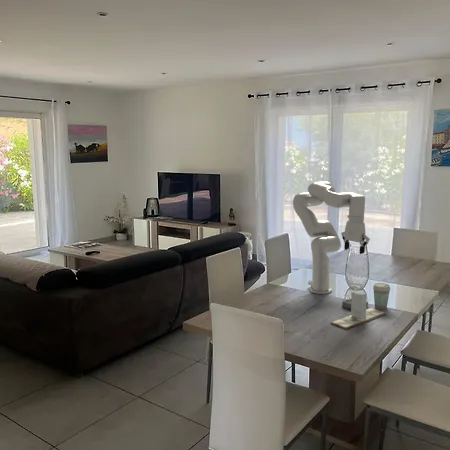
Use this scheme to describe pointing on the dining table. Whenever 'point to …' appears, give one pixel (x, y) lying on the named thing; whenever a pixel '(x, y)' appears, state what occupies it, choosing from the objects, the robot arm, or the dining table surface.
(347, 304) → the dice tray
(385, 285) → the coffee cup
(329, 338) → the dining table surface
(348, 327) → the track
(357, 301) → the skincare box
